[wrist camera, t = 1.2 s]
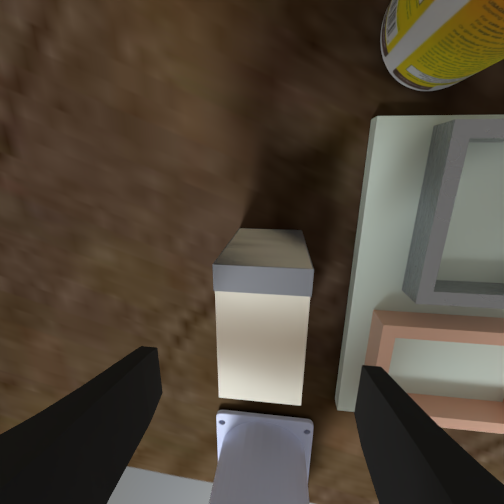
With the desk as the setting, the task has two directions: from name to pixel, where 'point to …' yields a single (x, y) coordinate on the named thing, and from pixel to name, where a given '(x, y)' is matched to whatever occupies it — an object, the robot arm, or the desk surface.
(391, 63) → the supplement bottle
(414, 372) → the seat board
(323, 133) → the desk surface
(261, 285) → the banded block
